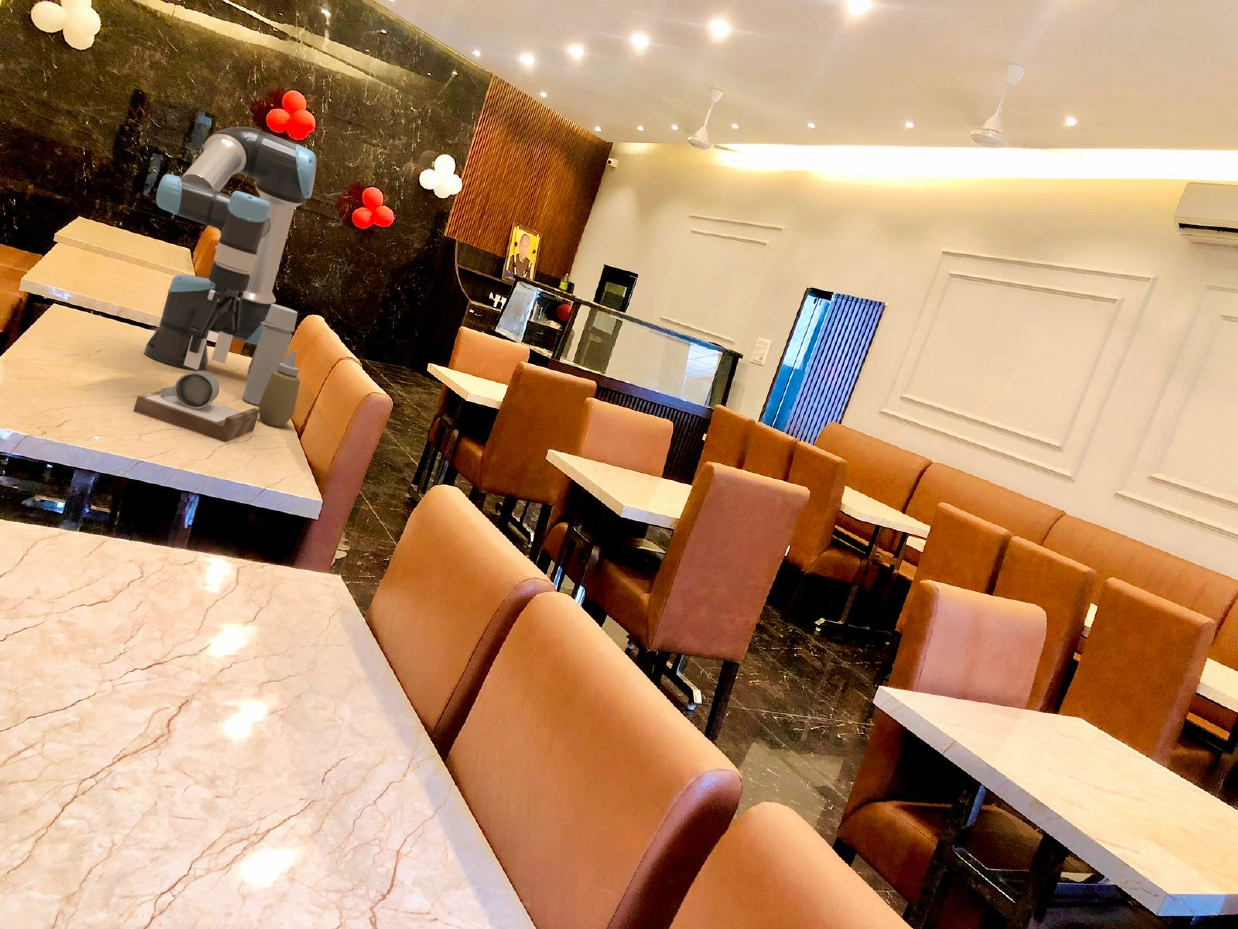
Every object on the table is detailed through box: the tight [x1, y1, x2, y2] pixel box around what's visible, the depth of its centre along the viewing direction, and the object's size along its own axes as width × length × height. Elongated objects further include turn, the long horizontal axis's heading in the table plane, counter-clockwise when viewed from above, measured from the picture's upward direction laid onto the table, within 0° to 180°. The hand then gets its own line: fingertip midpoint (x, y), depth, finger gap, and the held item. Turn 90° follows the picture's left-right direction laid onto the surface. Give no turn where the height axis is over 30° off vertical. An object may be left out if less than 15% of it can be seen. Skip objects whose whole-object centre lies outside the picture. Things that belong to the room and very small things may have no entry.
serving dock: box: [133, 390, 260, 443], centre depth 188 cm, size 16×19×5 cm
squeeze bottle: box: [258, 350, 301, 428], centre depth 207 cm, size 8×8×18 cm
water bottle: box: [242, 303, 298, 406], centre depth 220 cm, size 9×8×25 cm
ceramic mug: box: [160, 370, 220, 409], centre depth 186 cm, size 11×8×8 cm
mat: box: [145, 394, 241, 423], centre depth 187 cm, size 14×15×1 cm
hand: (205, 364), depth 186 cm, fingers open, 13 cm apart
